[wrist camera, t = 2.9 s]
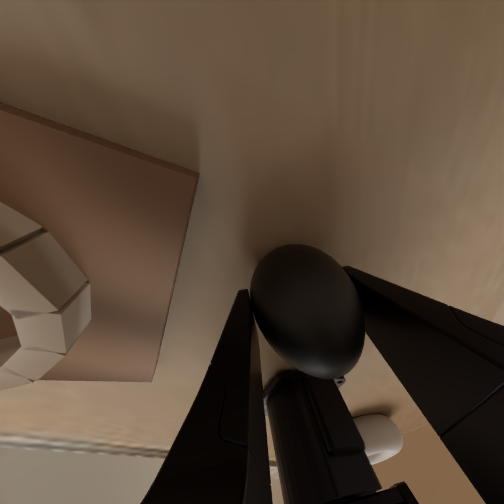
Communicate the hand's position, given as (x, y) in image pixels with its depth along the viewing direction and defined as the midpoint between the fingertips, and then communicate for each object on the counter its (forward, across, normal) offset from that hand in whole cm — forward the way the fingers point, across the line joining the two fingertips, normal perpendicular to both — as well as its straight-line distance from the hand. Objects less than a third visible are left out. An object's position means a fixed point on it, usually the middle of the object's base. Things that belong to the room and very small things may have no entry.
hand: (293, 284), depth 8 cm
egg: (+1, 0, 0) cm, 1 cm away
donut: (+2, -8, +30) cm, 31 cm away
